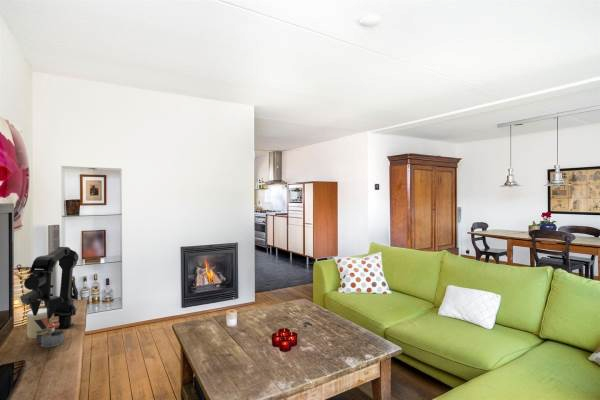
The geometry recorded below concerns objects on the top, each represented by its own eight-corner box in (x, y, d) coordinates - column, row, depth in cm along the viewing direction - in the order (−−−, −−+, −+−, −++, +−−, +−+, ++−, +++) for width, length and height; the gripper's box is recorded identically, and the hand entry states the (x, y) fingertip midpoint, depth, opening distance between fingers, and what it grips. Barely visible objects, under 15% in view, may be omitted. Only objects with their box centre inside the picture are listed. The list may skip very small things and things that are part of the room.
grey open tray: (41, 340, 157) (42, 331, 157) (66, 339, 159) (67, 330, 159) (31, 348, 149) (31, 338, 149) (57, 347, 151) (58, 337, 151)
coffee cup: (35, 340, 157) (37, 315, 157) (20, 337, 159) (21, 313, 159) (53, 332, 166) (55, 309, 166) (39, 330, 168) (40, 307, 168)
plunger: (50, 332, 156) (50, 321, 156) (60, 332, 157) (61, 321, 157) (44, 336, 152) (45, 325, 152) (55, 336, 152) (56, 324, 152)
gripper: (10, 285, 146) (8, 319, 146) (38, 290, 141) (37, 326, 141) (36, 279, 157) (35, 311, 157) (64, 284, 151) (63, 318, 151)
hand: (41, 317), depth 151 cm, fingers open, 9 cm apart
